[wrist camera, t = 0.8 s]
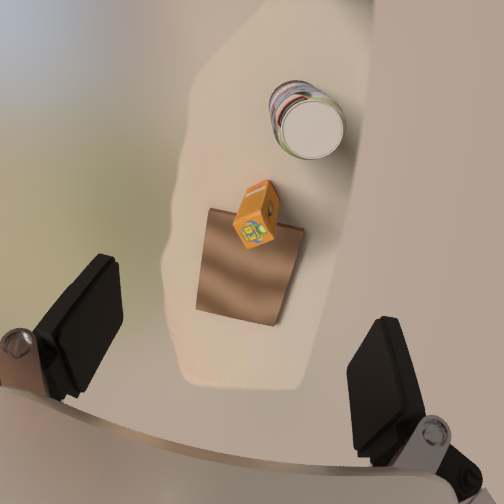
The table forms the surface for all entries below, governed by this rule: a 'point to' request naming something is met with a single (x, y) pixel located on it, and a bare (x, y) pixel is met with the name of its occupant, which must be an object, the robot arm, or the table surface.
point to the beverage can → (306, 120)
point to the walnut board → (245, 271)
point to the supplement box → (257, 215)
